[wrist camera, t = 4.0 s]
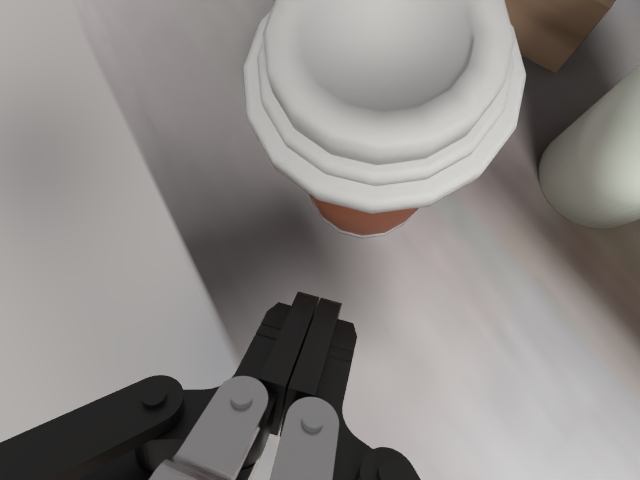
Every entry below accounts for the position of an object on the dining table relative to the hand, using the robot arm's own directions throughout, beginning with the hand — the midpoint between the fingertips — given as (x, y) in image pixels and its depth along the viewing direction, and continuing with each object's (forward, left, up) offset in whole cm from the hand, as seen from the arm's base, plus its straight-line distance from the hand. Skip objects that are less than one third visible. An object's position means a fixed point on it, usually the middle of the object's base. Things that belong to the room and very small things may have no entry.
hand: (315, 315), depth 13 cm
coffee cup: (-7, -5, -8) cm, 12 cm away
